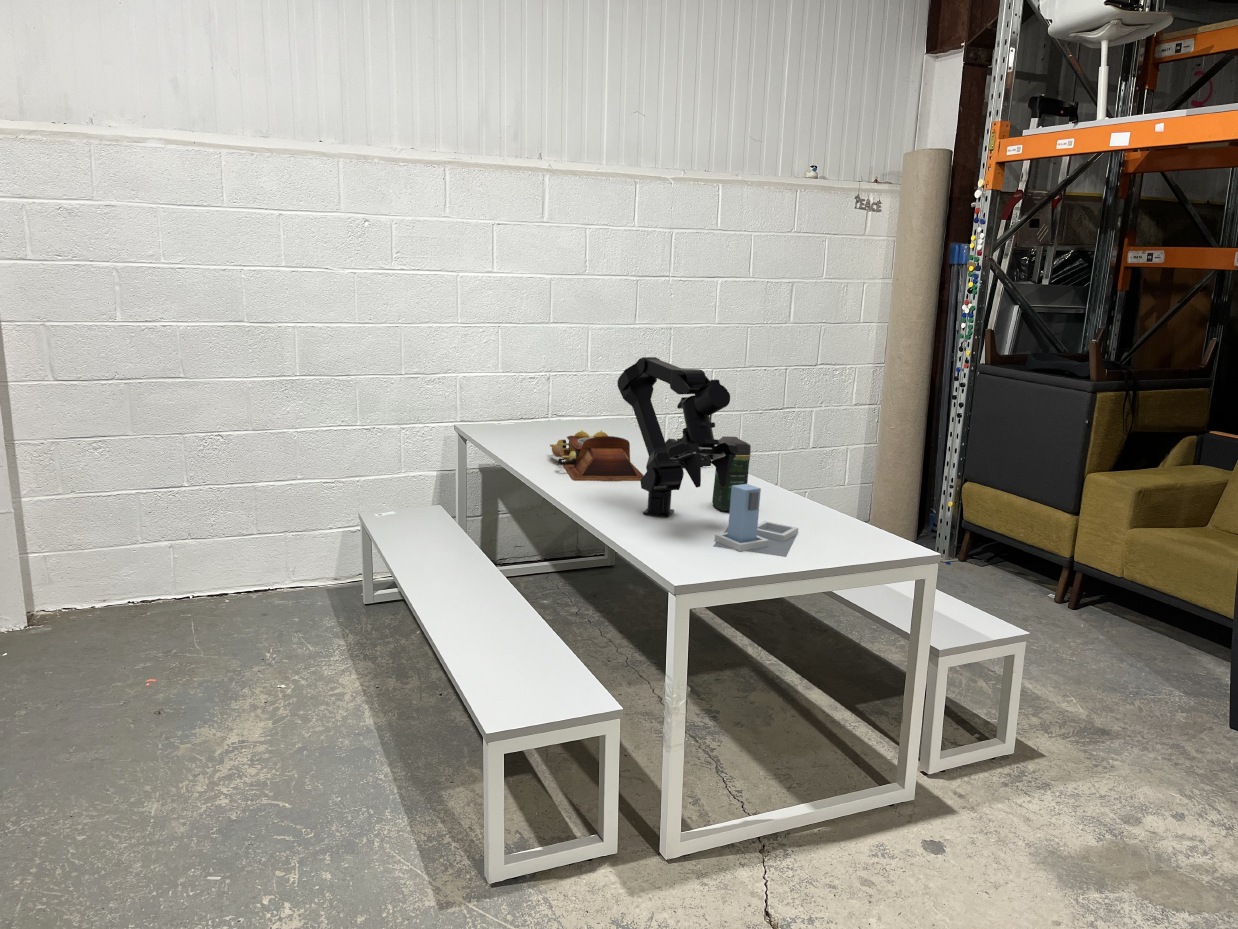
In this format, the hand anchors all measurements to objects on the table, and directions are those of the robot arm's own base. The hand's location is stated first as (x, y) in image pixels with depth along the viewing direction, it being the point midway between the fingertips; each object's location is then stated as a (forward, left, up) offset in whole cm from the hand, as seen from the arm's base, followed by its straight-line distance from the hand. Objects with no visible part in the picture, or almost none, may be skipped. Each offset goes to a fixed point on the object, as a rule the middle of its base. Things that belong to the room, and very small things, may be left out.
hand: (711, 487), depth 211 cm
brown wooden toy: (-57, -48, -13) cm, 76 cm away
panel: (-1, +11, -12) cm, 16 cm away
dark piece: (-75, -24, -12) cm, 80 cm away
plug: (+5, +9, -11) cm, 15 cm away
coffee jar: (-28, -1, -12) cm, 31 cm away
